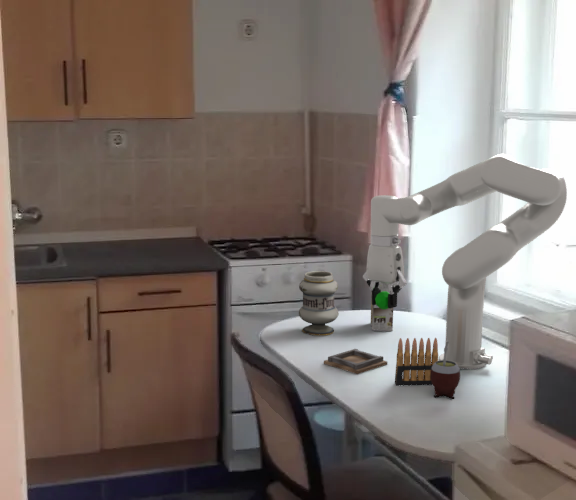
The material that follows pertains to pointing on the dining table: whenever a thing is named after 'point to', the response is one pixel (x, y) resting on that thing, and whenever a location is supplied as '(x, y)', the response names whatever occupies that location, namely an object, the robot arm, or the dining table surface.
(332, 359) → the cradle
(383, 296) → the polyhedron
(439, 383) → the mate gourd
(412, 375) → the ammunition clip
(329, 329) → the apothecary jar
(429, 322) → the dining table surface
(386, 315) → the coffee box
